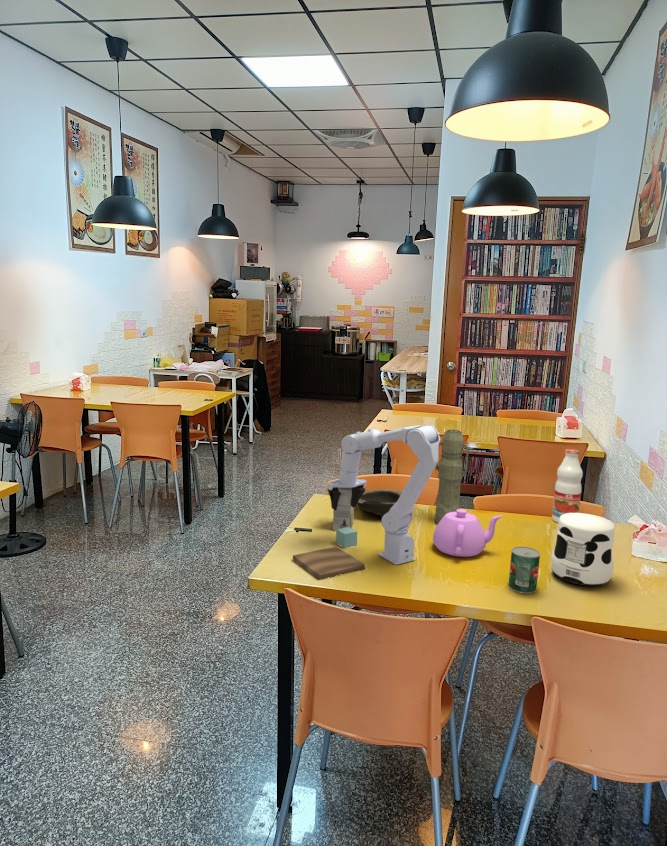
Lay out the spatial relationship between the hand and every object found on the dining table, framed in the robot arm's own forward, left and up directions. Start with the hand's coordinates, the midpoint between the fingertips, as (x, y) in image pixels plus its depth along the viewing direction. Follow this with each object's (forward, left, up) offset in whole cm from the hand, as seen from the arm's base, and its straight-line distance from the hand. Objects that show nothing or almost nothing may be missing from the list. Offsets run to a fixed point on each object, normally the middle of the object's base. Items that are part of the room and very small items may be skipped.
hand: (343, 507), depth 206 cm
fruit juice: (-22, -88, -12) cm, 91 cm away
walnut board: (-14, +14, -12) cm, 23 cm away
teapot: (-26, -32, -12) cm, 43 cm away
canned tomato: (-54, -27, -12) cm, 61 cm away
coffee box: (+11, -8, -12) cm, 18 cm away
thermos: (-3, -45, -12) cm, 46 cm away
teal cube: (-3, 0, -12) cm, 12 cm away
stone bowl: (+19, -29, -12) cm, 37 cm away
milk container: (-58, -48, -12) cm, 76 cm away
